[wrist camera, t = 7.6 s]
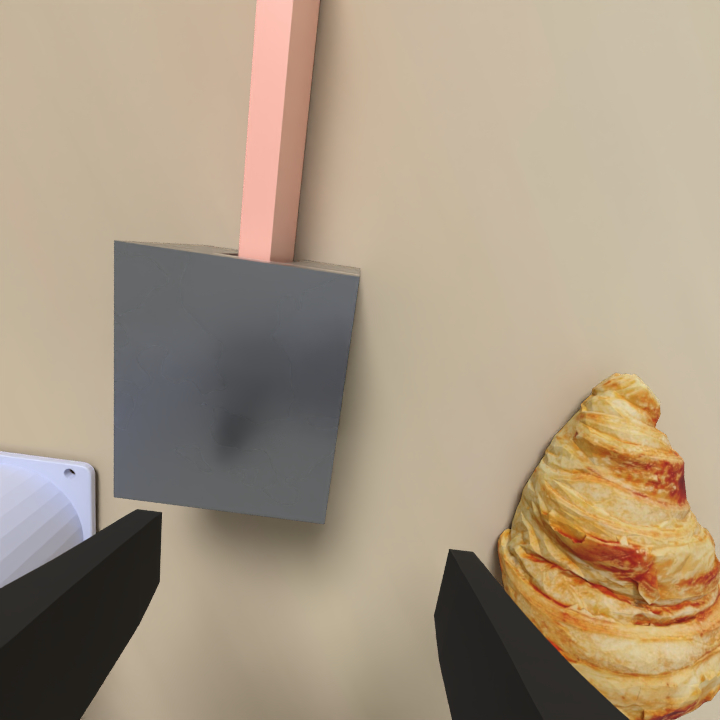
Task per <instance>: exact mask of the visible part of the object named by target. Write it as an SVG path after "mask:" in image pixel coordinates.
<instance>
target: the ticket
mask: <svg viewBox="0 0 720 720" xmlns="http://www.w3.org/2000/svg"><path fill="white" fill-rule="evenodd" d="M319 5H320V0H257V5H256V19H255V33H254V47H253V61H252V75H251V89H250V103H249V116H248V130H247V144H246V158H245V172H244V186H243V200H242V213H241V227H240V241H239V255H238V256H239V257H246V258H253V259H259V260H266V261H273V262H280V263H287V262H293V257H294V247H295V237H296V228H297V218H298V208H299V199H300V189H301V179H302V170H303V160H304V150H305V141H306V131H307V121H308V112H309V102H310V92H311V83H312V73H313V63H314V54H315V44H316V34H317V24H318V15H319Z"/></svg>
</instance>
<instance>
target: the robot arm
mask: <svg viewBox="0 0 720 720" xmlns="http://www.w3.org/2000/svg"><path fill="white" fill-rule="evenodd" d="M70 469H72V470H73V471H74V472H75V474H72V473H71V472H70ZM161 526H162V512H155V511H147V510H139V509H137V510H135V511H133V512H131V513H130V514H128V515H126V516H124V517H123V518H121V519H119V520H118V521H116V522H114V523H113V524H111V525H109V526H108V527H106V528H104V529H103V530H101V531H100V532H98V533H96V514H95V470H94V468H93V467H92V466H91V465H90V464H89V463H86V462H79V461H72V460H64V459H56V458H49V457H41V456H33V455H26V454H18V453H10V452H3V451H0V720H80V719H81V717H82V716H83V714H84V712H85V711H86V709H87V708H88V706H89V704H90V703H91V701H92V700H93V698H94V696H95V695H96V693H97V692H98V690H99V688H100V687H101V685H102V684H103V682H104V680H105V679H106V677H107V676H108V674H109V672H110V671H111V669H112V668H113V666H114V665H115V663H116V661H117V660H118V658H119V657H120V655H121V653H122V652H123V650H124V648H125V647H126V645H127V644H128V642H129V640H130V639H131V637H132V635H133V634H134V632H135V631H136V629H137V627H138V626H139V624H140V622H141V620H142V618H143V616H144V614H145V612H146V610H147V608H148V606H149V604H150V601H151V599H152V597H153V595H154V593H155V591H156V589H157V586H158V584H159V582H160V556H161ZM434 619H435V629H436V639H437V647H438V655H439V662H440V667H441V672H442V676H443V681H444V685H445V690H446V694H447V699H448V703H449V708H450V712H451V717H452V720H630V719H629V718H628V717H626V716H625V715H624V714H623V713H622V712H621V711H620V710H618V709H617V708H616V707H615V706H614V705H613V704H612V703H611V702H610V701H609V700H608V699H607V698H606V697H604V696H603V695H602V694H601V693H600V692H599V691H598V690H597V689H596V688H595V687H594V686H593V685H592V684H591V683H590V682H589V681H587V680H586V679H585V678H584V677H583V676H582V675H581V674H580V673H579V672H578V671H577V670H576V669H575V668H574V667H573V666H572V665H571V664H570V663H569V662H568V661H567V660H566V659H565V657H564V656H563V655H562V654H561V653H560V652H559V651H558V650H557V649H556V648H555V647H554V646H553V645H552V644H551V643H550V642H549V641H548V640H547V638H546V637H545V636H544V635H543V634H542V633H541V632H540V631H539V630H538V629H537V627H536V626H535V625H534V624H533V623H532V622H531V621H530V620H529V618H528V617H527V616H526V615H525V614H524V613H523V611H522V610H521V609H520V608H519V607H518V606H517V604H516V603H515V602H514V601H513V600H512V598H511V597H510V596H509V595H508V594H507V592H506V591H505V590H504V589H503V588H502V586H501V585H500V584H499V583H498V582H497V580H496V579H495V578H494V577H493V575H492V574H491V573H490V572H489V570H488V569H487V568H486V567H485V566H484V564H483V563H482V562H481V561H480V560H479V558H478V557H477V556H476V555H475V554H474V552H469V551H461V550H453V549H449V553H448V557H447V561H446V566H445V570H444V574H443V579H442V583H441V587H440V592H439V596H438V601H437V605H436V609H435V614H434Z"/></svg>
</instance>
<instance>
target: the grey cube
mask: <svg viewBox="0 0 720 720" xmlns="http://www.w3.org/2000/svg"><path fill="white" fill-rule="evenodd" d="M238 255H239V250H233V249H226V248H219V247H213V246H206V245H190V244H172V243H153V242H134V241H115V240H114V497H117V498H124V499H132V500H140V501H148V502H156V503H163V504H171V505H179V506H187V507H195V508H202V509H210V510H218V511H226V512H234V513H241V514H249V515H257V516H265V517H273V518H280V519H288V520H296V521H304V522H312V523H319V524H324V523H325V516H326V509H327V502H328V495H329V488H330V481H331V474H332V467H333V460H334V453H335V446H336V439H337V432H338V425H339V418H340V411H341V404H342V397H343V390H344V383H345V376H346V369H347V362H348V355H349V348H350V341H351V334H352V327H353V320H354V313H355V306H356V299H357V292H358V285H359V278H360V268H354V267H347V266H340V265H334V264H327V263H320V262H314V261H307V260H304V261H296V262H287V263H280V262H273V261H266V260H259V259H253V258H246V257H239V256H238Z"/></svg>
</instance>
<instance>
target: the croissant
mask: <svg viewBox="0 0 720 720" xmlns="http://www.w3.org/2000/svg"><path fill="white" fill-rule="evenodd" d="M660 414H661V413H660V401H659V399H658V398H657V397H656V396H655V395H654V393H653V392H652V391H651V389H650V388H649V387H648V386H647V385H646V384H644V383H643V381H642V379H641V378H639V377H638V376H637V375H635V374H633V375H629V374H622V375H621V374H620V373H615V374H613V375H612V376H610V377H608V378H607V379H605V380H603V381H602V382H601V383H600V384H598V385H597V386H596V387H594V388H593V389H592V394H591V395H590V396H589V397H588V398H587V399H586V400H585V401H584V402H583V403H581V409H580V410H579V411H578V412H577V413H576V414H575V415H574V416H573V417H572V418H571V419H570V420H569V421H568V422H567V424H566V425H565V426H564V427H563V428H562V429H561V430H560V431H559V432H558V433H557V434H556V435H555V436H554V438H553V440H552V442H551V444H550V445H549V446H548V448H547V449H546V450H545V455H544V457H543V458H542V460H541V461H540V463H539V465H538V466H537V467H536V468H535V471H534V472H533V474H532V476H531V477H530V479H529V481H528V482H527V484H526V485H525V487H524V489H523V492H522V497H521V500H520V503H519V505H518V507H517V509H516V512H515V515H514V518H513V521H512V528H511V529H506V530H504V532H503V533H502V534H501V535H500V538H499V540H498V555H499V562H500V568H501V571H502V581H503V585H504V590H505V591H506V592H507V594H508V595H509V596H510V597H511V598H512V600H513V601H514V602H515V603H516V604H517V606H518V607H519V608H520V609H521V610H522V611H523V613H524V614H525V615H526V616H527V617H528V618H529V620H530V621H531V622H532V623H533V624H534V625H535V626H536V627H537V629H538V630H539V631H540V632H541V633H542V634H543V635H544V636H545V637H546V638H547V640H548V641H549V642H550V643H551V644H552V645H553V646H554V647H555V648H556V649H557V650H558V651H559V652H560V653H561V654H562V655H563V656H564V657H565V659H566V660H567V661H568V662H569V663H570V664H571V665H572V666H573V667H574V668H575V669H576V670H577V671H578V672H579V673H580V674H581V675H582V676H583V677H584V678H585V679H586V680H587V681H589V682H590V683H591V684H592V685H593V686H594V687H595V688H596V689H597V690H598V691H599V692H600V693H601V694H602V695H603V696H604V697H606V698H607V699H608V700H609V701H610V702H611V703H612V704H613V705H614V706H615V707H616V708H617V709H618V710H620V711H621V712H622V713H623V714H624V715H625V716H626V717H628V718H629V719H630V720H674V719H677V718H679V717H681V716H683V715H685V714H688V713H690V712H692V711H694V710H695V709H697V708H699V707H700V706H701V705H702V704H703V703H704V702H707V701H711V700H712V699H713V697H714V696H715V695H716V693H717V692H718V691H719V690H720V562H719V561H718V559H717V557H716V555H715V543H714V540H713V538H712V536H711V535H710V533H709V531H708V530H707V529H705V528H702V527H701V525H700V524H699V523H698V522H697V520H696V516H695V515H694V514H693V513H692V511H691V510H690V505H689V503H688V501H687V499H686V490H685V480H684V461H683V459H682V458H681V457H680V456H679V454H678V453H677V452H676V451H675V450H673V449H672V448H671V445H670V443H669V440H668V438H667V435H665V434H664V433H662V432H661V431H659V430H658V429H656V428H655V426H656V423H657V421H658V419H659V417H660Z"/></svg>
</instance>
